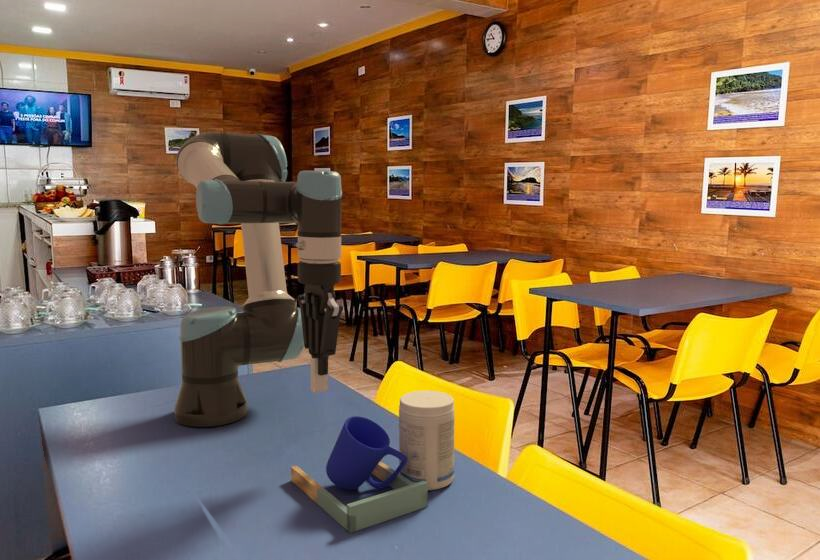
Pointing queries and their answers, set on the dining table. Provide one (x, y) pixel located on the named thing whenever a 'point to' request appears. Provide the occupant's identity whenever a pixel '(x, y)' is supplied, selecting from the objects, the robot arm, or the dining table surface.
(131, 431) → the dining table surface
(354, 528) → the pocket
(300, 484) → the flange rails
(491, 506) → the dining table surface
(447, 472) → the supplement tub
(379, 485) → the mug
